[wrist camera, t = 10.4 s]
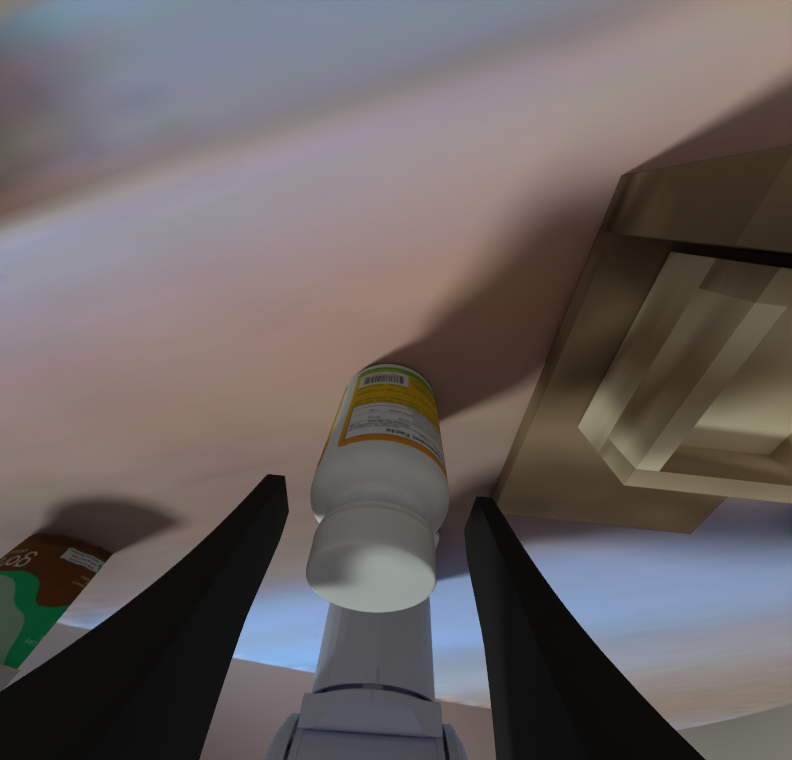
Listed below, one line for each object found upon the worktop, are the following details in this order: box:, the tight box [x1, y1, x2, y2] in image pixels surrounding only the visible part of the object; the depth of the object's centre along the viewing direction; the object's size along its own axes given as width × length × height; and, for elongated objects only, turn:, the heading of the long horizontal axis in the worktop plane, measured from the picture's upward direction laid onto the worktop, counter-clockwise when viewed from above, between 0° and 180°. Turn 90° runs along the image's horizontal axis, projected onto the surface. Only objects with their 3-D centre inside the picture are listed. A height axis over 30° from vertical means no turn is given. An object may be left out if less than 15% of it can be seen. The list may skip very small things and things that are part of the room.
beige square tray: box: [578, 252, 792, 503], centre depth 12 cm, size 9×9×4 cm
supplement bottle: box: [306, 364, 449, 613], centre depth 13 cm, size 5×5×10 cm
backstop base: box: [491, 145, 792, 534], centre depth 14 cm, size 19×14×6 cm
